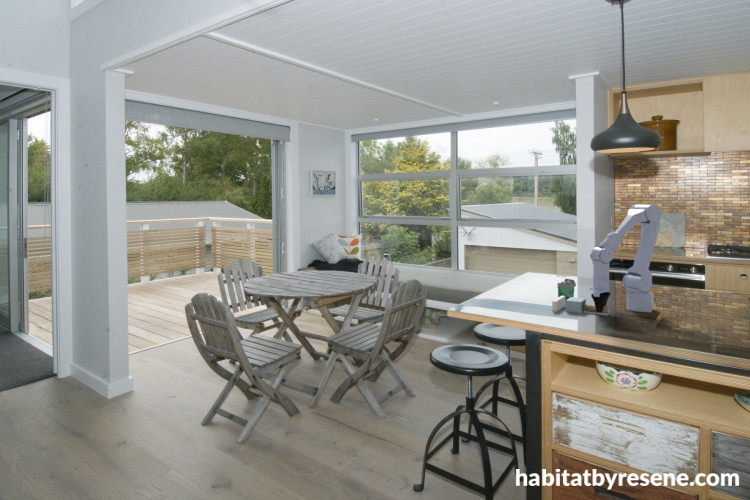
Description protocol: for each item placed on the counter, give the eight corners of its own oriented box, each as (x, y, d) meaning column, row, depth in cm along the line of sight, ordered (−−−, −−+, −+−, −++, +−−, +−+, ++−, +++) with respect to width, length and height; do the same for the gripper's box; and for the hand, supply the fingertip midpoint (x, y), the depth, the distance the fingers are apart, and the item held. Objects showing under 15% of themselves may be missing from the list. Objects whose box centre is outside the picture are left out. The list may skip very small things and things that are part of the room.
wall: (565, 308, 202) (565, 295, 201) (556, 314, 192) (556, 301, 192) (561, 308, 203) (561, 295, 202) (552, 314, 193) (552, 301, 193)
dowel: (608, 312, 187) (608, 305, 186) (606, 314, 184) (606, 307, 184) (587, 310, 192) (587, 303, 191) (585, 312, 189) (585, 304, 189)
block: (585, 312, 194) (586, 298, 193) (581, 316, 189) (581, 301, 188) (570, 310, 198) (570, 297, 197) (565, 314, 192) (565, 300, 192)
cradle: (610, 315, 187) (610, 311, 187) (607, 318, 183) (607, 314, 183) (586, 313, 193) (586, 308, 193) (583, 315, 189) (583, 311, 189)
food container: (571, 306, 205) (572, 284, 203) (557, 305, 208) (557, 283, 207) (579, 300, 214) (579, 279, 213) (565, 299, 218) (565, 278, 217)
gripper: (595, 273, 194) (594, 306, 195) (585, 279, 182) (585, 313, 184) (613, 275, 189) (613, 308, 191) (605, 281, 178) (604, 316, 180)
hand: (600, 311), depth 187 cm, fingers closed on dowel, 3 cm apart
